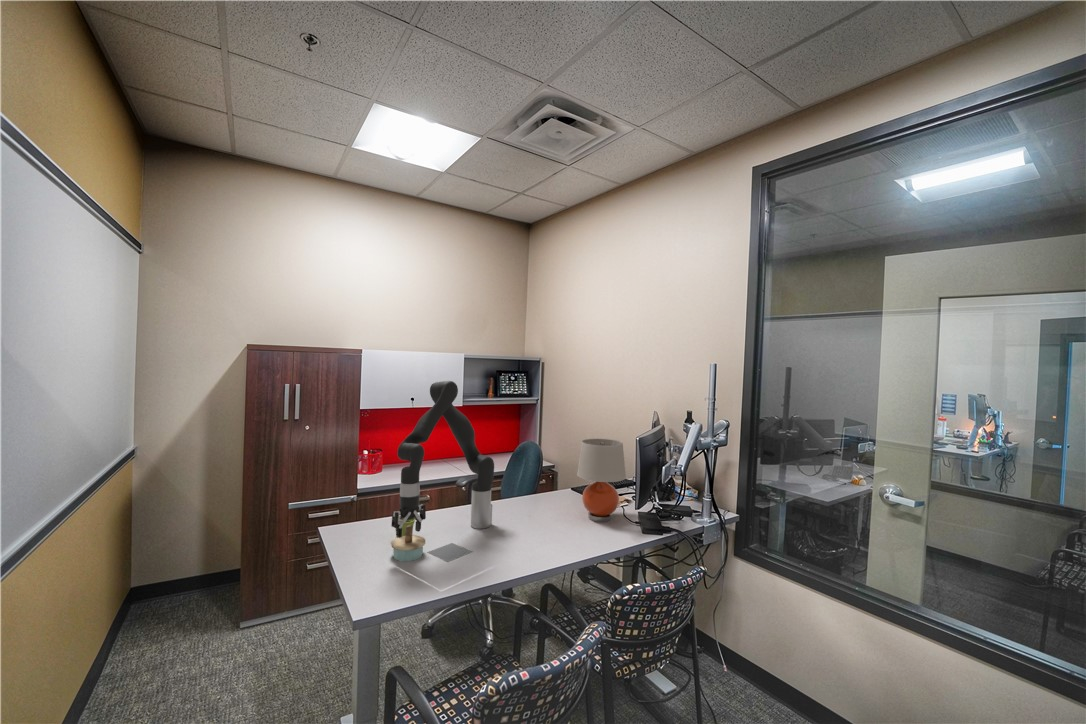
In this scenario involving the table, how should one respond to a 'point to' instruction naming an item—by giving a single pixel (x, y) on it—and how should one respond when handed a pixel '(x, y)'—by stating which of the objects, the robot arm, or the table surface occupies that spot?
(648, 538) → the table surface
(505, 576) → the table surface
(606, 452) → the lamp
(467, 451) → the robot arm
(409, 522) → the plant pot
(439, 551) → the mat
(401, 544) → the lid
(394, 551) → the bowl
